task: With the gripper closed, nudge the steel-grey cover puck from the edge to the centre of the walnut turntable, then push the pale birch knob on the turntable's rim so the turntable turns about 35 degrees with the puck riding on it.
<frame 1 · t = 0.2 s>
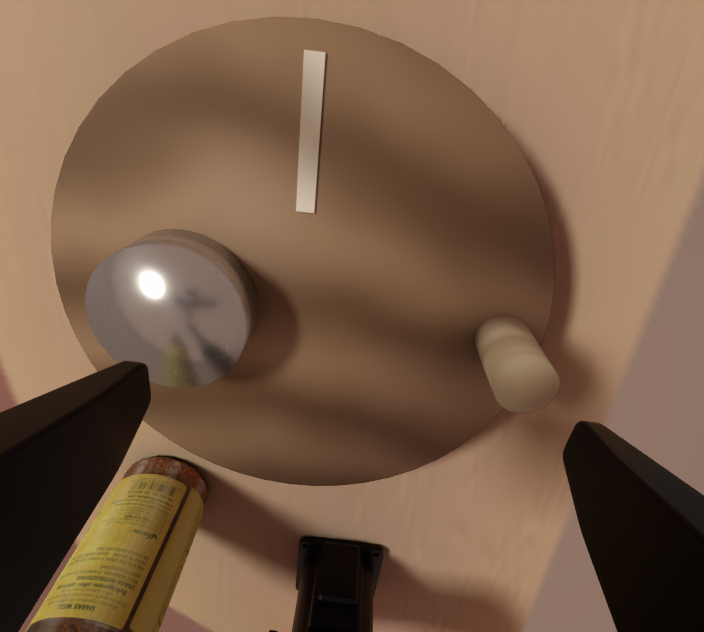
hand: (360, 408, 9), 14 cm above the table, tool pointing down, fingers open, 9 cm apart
cover puck: (188, 298, 21), point 3 cm above the table, touching turntable
turntable: (294, 324, 20), point 4 cm above the table, hinge at 0.0°, touching cover puck
sauce bottle: (173, 481, 32), on the table
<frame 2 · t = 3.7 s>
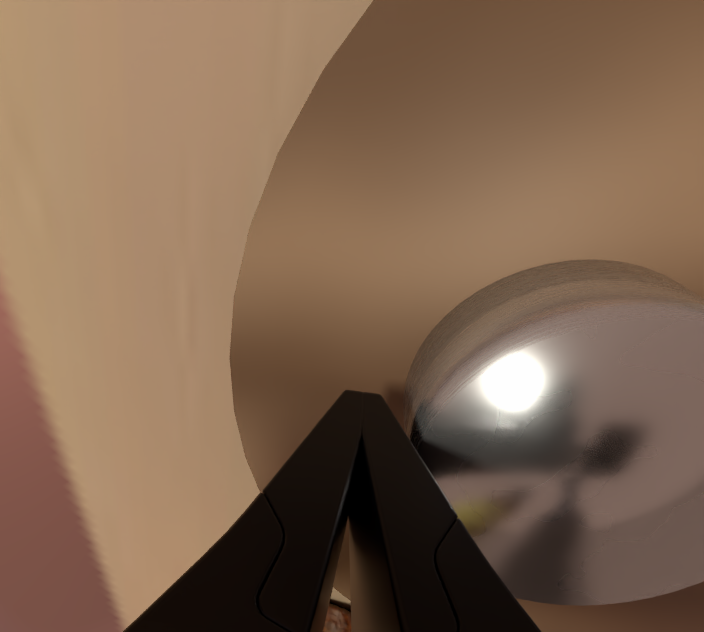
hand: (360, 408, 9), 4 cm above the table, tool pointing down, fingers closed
cover puck: (555, 402, 10), point 3 cm above the table, touching gripper, turntable
sauce bottle: (314, 626, 20), on the table
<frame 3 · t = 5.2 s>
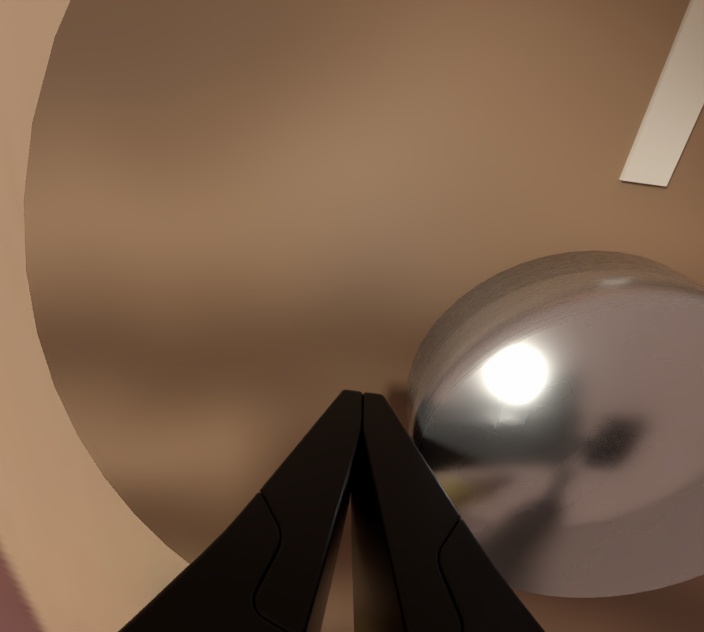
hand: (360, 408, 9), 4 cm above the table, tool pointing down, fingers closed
cover puck: (558, 395, 10), point 3 cm above the table, touching turntable
turntable: (568, 438, 9), point 4 cm above the table, hinge at -0.1°, touching cover puck
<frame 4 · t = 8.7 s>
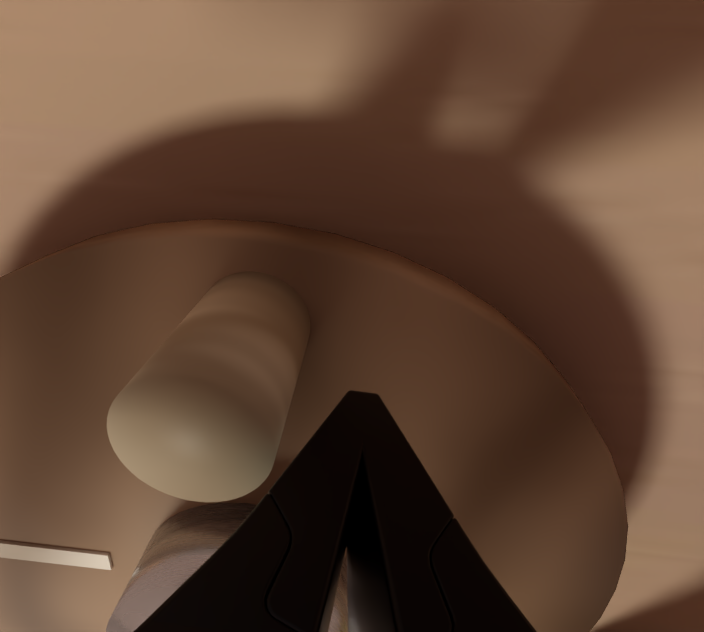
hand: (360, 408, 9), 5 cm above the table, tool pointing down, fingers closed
cover puck: (249, 572, 15), point 3 cm above the table, touching turntable
turntable: (246, 614, 14), point 4 cm above the table, hinge at 0.7°, touching cover puck, gripper
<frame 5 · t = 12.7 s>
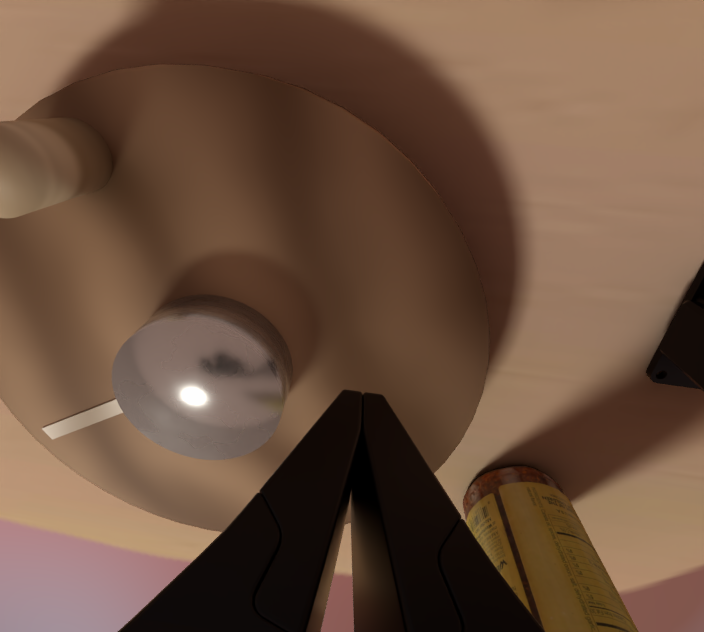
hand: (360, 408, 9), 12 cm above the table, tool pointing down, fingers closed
cover puck: (217, 363, 20), point 3 cm above the table, touching turntable
turntable: (214, 380, 19), point 4 cm above the table, hinge at 31.8°, touching cover puck
sauce bottle: (512, 492, 27), on the table
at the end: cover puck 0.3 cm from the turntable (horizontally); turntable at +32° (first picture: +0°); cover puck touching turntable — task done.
